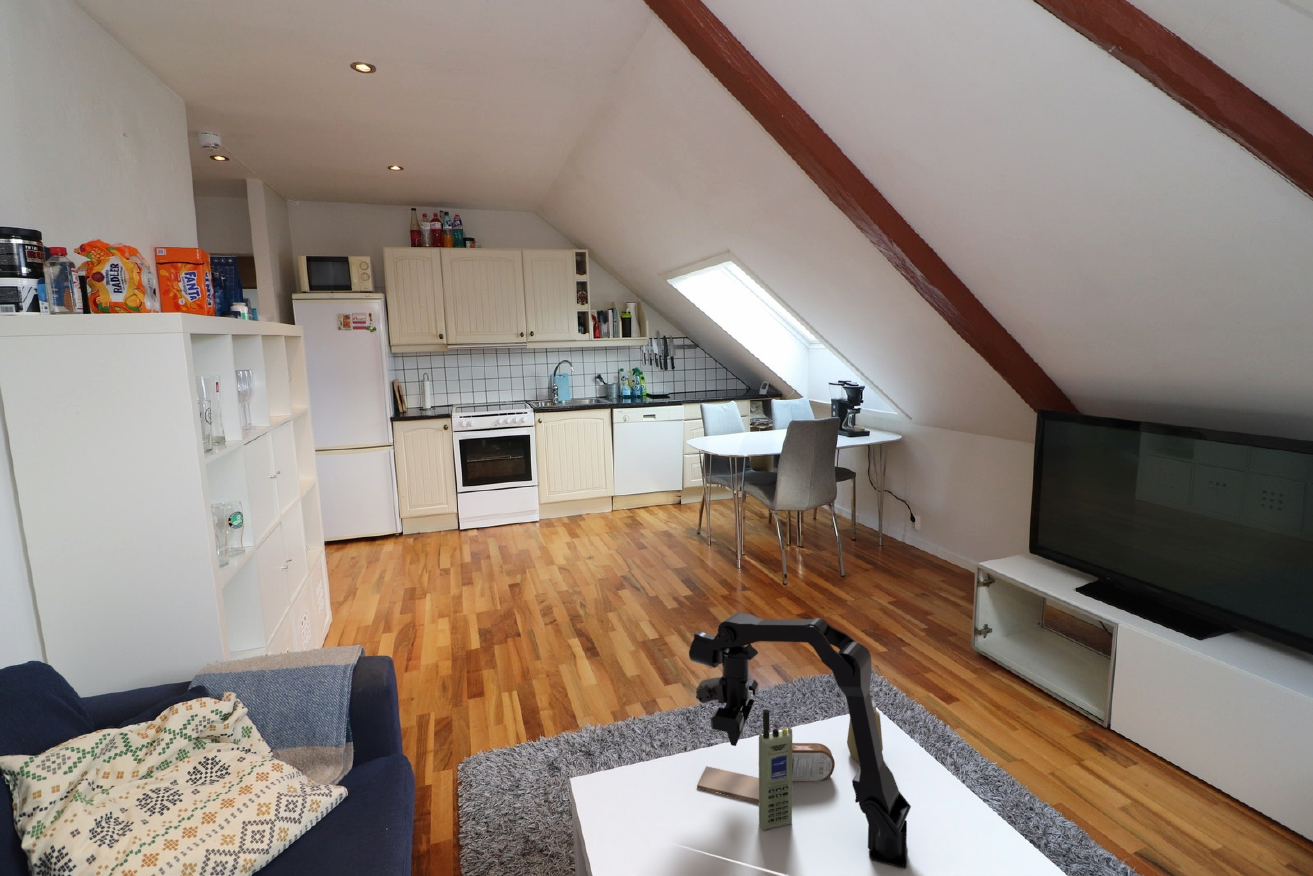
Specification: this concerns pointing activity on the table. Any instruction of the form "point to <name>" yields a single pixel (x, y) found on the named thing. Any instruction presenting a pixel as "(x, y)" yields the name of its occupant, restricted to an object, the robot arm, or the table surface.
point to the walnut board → (730, 784)
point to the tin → (811, 762)
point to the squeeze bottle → (851, 739)
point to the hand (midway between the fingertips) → (736, 739)
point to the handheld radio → (775, 776)
